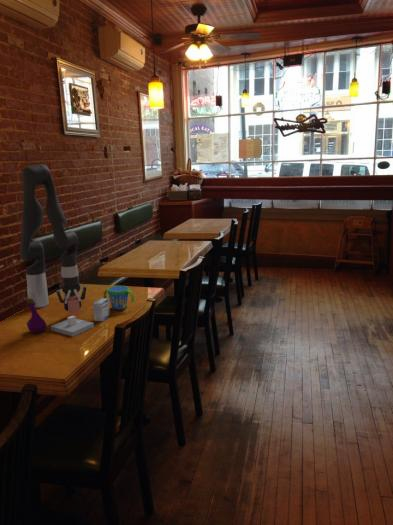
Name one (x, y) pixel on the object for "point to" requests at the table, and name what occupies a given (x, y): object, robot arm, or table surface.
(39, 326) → the perfume bottle
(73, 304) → the knob
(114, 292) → the snack cup
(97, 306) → the medicine box
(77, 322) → the panel
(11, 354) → the table surface
